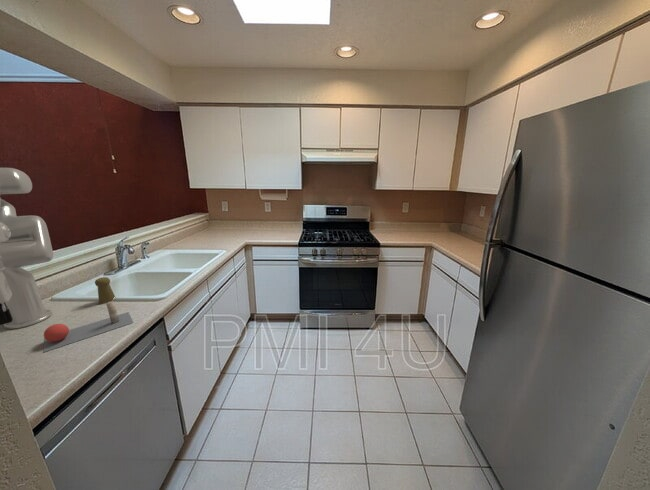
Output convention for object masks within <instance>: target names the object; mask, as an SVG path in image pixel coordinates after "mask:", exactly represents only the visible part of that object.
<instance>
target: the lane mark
mask: <svg viewBox="0 0 650 490" xmlns="http://www.w3.org/2000/svg"><path fill="white" fill-rule="evenodd" d="M118 318H119V322H117V323H114V324H112V323H111V320H110V317H108V318H104V319H101V320H98V321H94V322H90V323H88V324H85V325H81V326H78V327H75V328H71V329H69V333H68V335H67V336H66V337H65V338H64V339H63V340H61V341H58V342H49V341H47V340H46V339H45V338H44V344H43V353H48V352H49V351H53V350H55V349H59V348H62V347H65V346H68V345H70V344H74V343H76V342H80V341H83V340H86V339H89V338H92V337H94V336H95V337H96V336H97V335H101V334H103V333H107V332H110V331H113V330H116V329H119V328H122V327H125V326H128V325H131V324H133V323H134V321H133V319H132V316H131V315H130V313H129V311H127V312H124V313H120V314H118Z"/></svg>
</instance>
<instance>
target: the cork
mask: <svg viewBox="0 0 650 490" xmlns="http://www.w3.org/2000/svg"><path fill="white" fill-rule="evenodd" d="M110 284H111V279H110V278H109V277H107V276H103V277H99V278H97V279H95V280H94V285H95V286H96V287H97V295H98V304H100V305H102V304H103V305H104V304H105V305H106V303H108V302H111V301H112V300H113V298H114V297H115V298H116V296H115V294H114V293H115V292H114V291H113V289H112V287H111V285H110Z"/></svg>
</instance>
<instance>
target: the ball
mask: <svg viewBox="0 0 650 490" xmlns="http://www.w3.org/2000/svg"><path fill="white" fill-rule="evenodd" d="M69 330H70V329H69V327H68V326H67V325H65V324H63V323H54V324H52V325H50V326H49V327H47V328H46V329H45V330H44V332H43V337H44V340H45V339H46V340H47V341H49V342H58V341H61V340H63V339H64V338H65V337H66V336H67V335H68V333H69Z"/></svg>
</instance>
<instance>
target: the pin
mask: <svg viewBox="0 0 650 490" xmlns="http://www.w3.org/2000/svg"><path fill="white" fill-rule="evenodd" d="M105 305H106V307H107V312H108V315H109V318H110V320H111V323H112V324H114V323H117V322H119V318H118V315H119V314H118V311H117V307H116V303H115V300H114V301H111V302H108V303H105Z"/></svg>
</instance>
